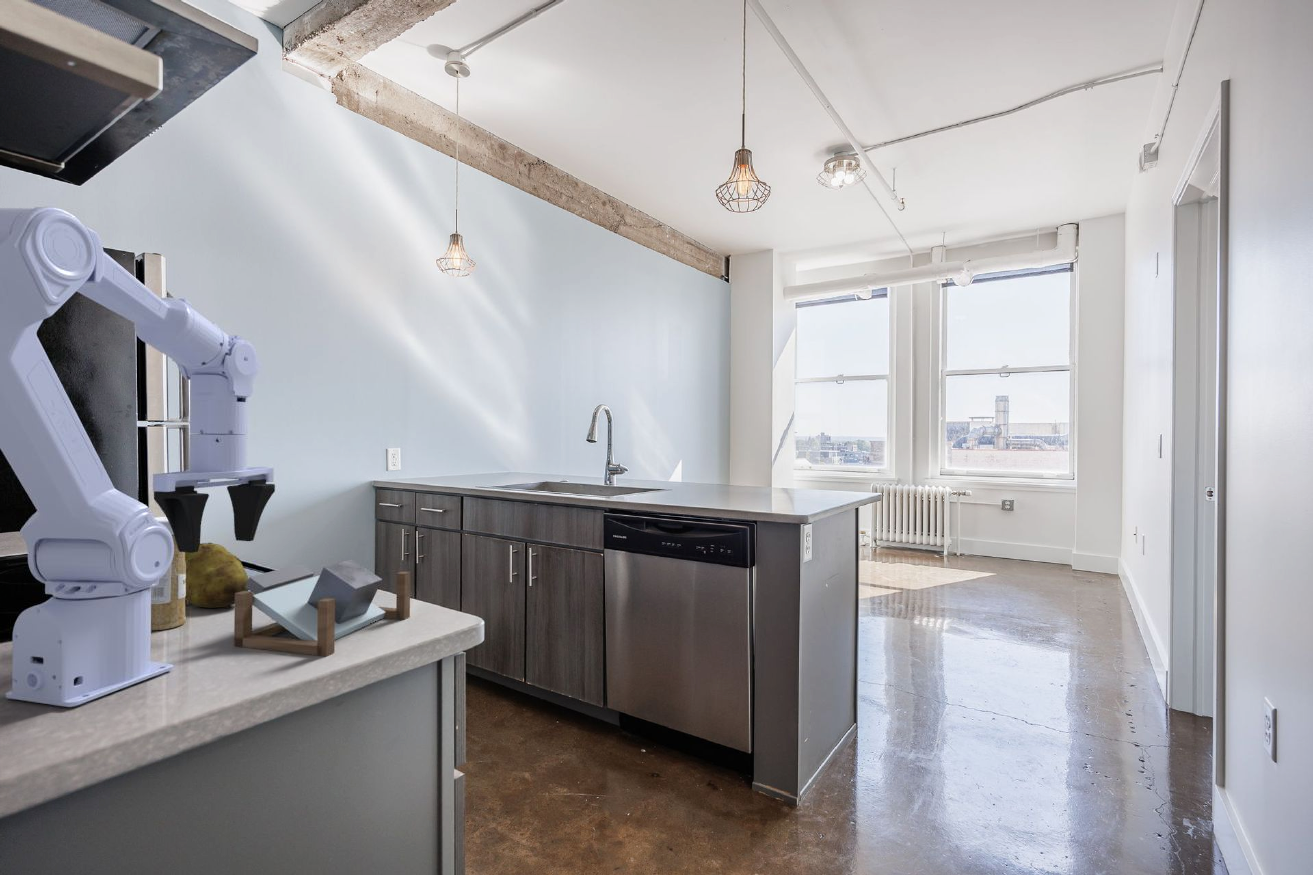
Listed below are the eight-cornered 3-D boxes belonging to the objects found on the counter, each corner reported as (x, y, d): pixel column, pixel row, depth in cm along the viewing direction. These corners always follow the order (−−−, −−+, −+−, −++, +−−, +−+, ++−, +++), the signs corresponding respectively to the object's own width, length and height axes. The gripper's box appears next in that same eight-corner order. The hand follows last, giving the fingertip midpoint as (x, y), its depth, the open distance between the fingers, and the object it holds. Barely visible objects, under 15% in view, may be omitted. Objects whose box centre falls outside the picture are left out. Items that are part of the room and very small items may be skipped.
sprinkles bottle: (195, 622, 80) (196, 516, 80) (159, 633, 76) (160, 521, 75) (166, 619, 81) (167, 514, 81) (129, 629, 77) (130, 519, 76)
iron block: (338, 624, 76) (355, 588, 75) (307, 602, 77) (323, 567, 76) (366, 612, 81) (382, 579, 80) (336, 592, 82) (352, 559, 81)
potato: (176, 618, 81) (176, 557, 81) (170, 597, 91) (171, 542, 91) (252, 608, 87) (252, 550, 87) (239, 589, 97) (239, 537, 96)
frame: (326, 656, 69) (327, 601, 69) (234, 645, 72) (234, 593, 72) (409, 616, 84) (410, 572, 84) (330, 609, 87) (331, 566, 86)
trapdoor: (313, 650, 71) (318, 639, 71) (230, 591, 74) (235, 580, 74) (382, 619, 83) (386, 610, 83) (308, 569, 85) (312, 560, 85)
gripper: (242, 433, 84) (241, 534, 85) (131, 433, 70) (130, 555, 70) (287, 434, 83) (286, 537, 83) (182, 435, 69) (181, 559, 69)
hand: (218, 545), depth 77 cm, fingers open, 7 cm apart
